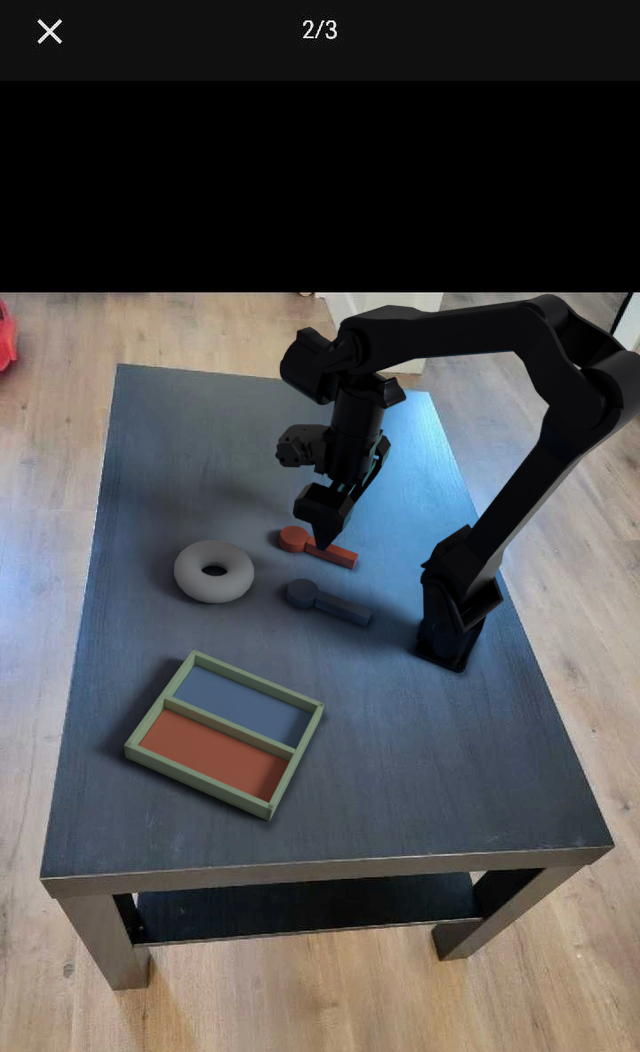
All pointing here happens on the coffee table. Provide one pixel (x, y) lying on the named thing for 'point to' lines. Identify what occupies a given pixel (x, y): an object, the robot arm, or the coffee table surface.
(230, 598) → the donut
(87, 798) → the coffee table surface
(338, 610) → the blue spoon
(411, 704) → the coffee table surface
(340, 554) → the red spoon
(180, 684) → the tray
